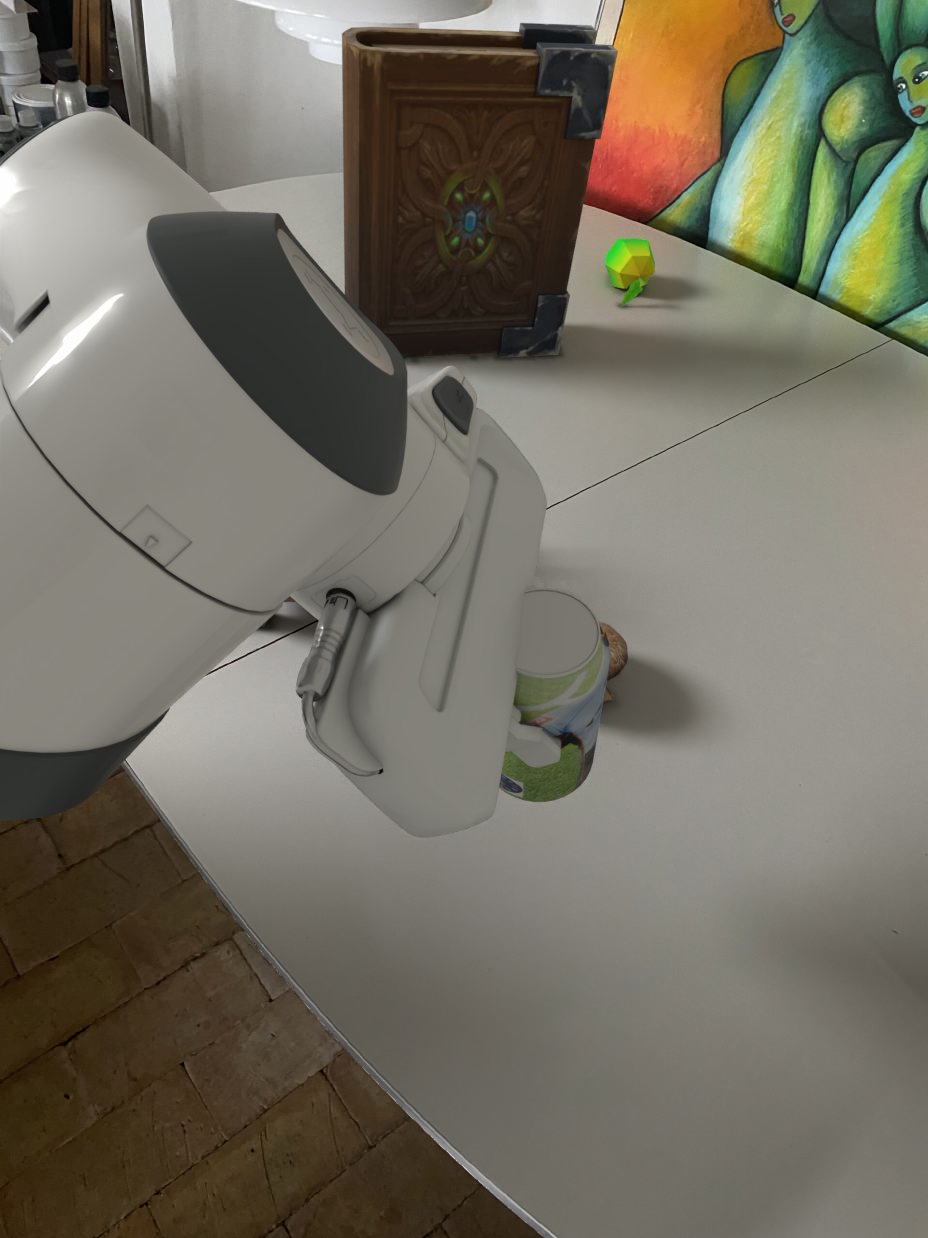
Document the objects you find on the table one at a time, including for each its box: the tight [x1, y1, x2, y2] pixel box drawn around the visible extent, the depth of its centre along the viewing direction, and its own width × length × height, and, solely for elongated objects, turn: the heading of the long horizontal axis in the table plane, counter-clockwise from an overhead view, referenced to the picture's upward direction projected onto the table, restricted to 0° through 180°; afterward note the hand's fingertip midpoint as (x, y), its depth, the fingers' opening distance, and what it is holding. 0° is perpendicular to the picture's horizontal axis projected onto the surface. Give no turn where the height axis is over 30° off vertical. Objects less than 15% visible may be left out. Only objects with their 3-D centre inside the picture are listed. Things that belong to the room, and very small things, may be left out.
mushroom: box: [599, 621, 629, 703], centre depth 65 cm, size 8×8×6 cm
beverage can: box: [499, 587, 611, 803], centre depth 43 cm, size 6×7×12 cm
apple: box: [604, 238, 656, 307], centre depth 108 cm, size 7×6×9 cm
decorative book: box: [341, 22, 619, 359], centre depth 87 cm, size 23×7×30 cm, turn 104°
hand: (556, 702), depth 42 cm, fingers closed on beverage can, 4 cm apart
